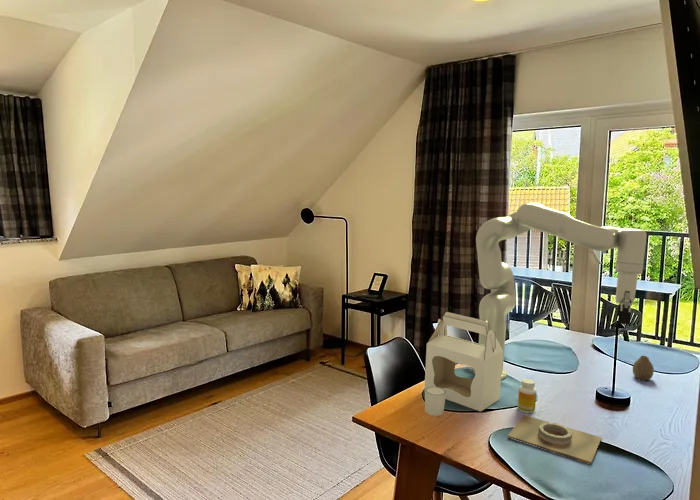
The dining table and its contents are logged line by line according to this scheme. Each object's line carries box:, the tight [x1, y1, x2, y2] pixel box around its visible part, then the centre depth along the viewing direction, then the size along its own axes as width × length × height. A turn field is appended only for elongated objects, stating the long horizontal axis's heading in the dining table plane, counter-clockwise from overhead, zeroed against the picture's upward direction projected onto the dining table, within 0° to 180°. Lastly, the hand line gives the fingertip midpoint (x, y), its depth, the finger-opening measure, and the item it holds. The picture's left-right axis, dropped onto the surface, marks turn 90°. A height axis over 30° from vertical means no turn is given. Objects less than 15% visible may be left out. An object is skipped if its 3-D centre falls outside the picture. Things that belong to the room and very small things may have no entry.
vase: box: [632, 355, 655, 381], centre depth 189 cm, size 7×7×9 cm
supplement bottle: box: [516, 378, 537, 414], centre depth 160 cm, size 5×5×10 cm
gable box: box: [424, 311, 503, 412], centre depth 168 cm, size 22×13×28 cm, turn 47°
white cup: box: [424, 387, 447, 417], centre depth 157 cm, size 7×7×7 cm
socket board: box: [507, 414, 603, 465], centre depth 143 cm, size 22×16×3 cm
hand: (623, 319), depth 160 cm, fingers open, 9 cm apart
